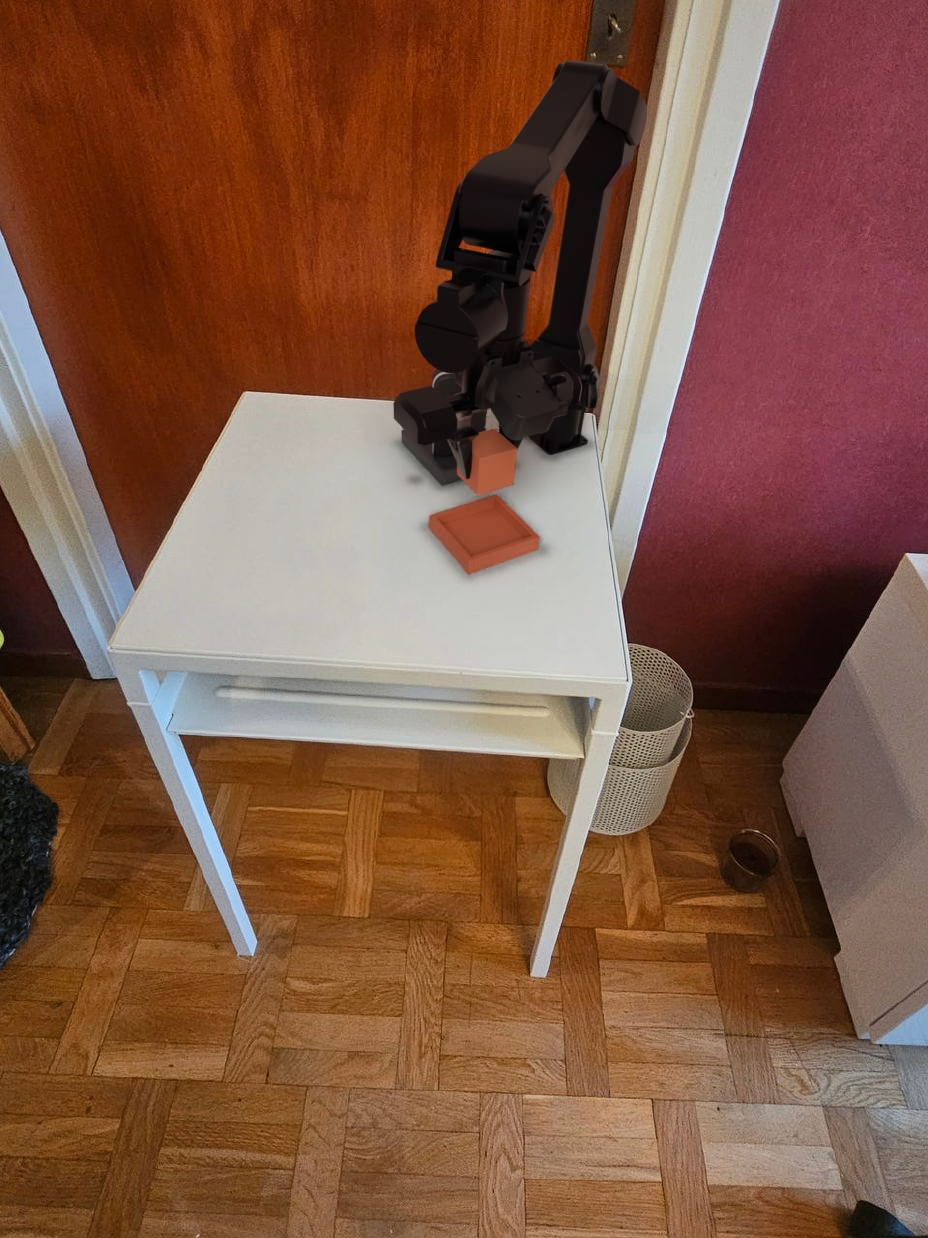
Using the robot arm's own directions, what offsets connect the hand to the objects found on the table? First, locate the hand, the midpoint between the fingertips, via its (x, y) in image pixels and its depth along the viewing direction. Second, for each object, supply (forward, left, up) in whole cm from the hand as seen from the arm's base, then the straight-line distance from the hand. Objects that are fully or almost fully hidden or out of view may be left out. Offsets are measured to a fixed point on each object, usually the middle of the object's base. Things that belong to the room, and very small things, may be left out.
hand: (485, 471), depth 79 cm
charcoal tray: (-6, -17, -9) cm, 20 cm away
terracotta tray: (0, 0, -9) cm, 9 cm away
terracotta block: (0, 0, -1) cm, 1 cm away
